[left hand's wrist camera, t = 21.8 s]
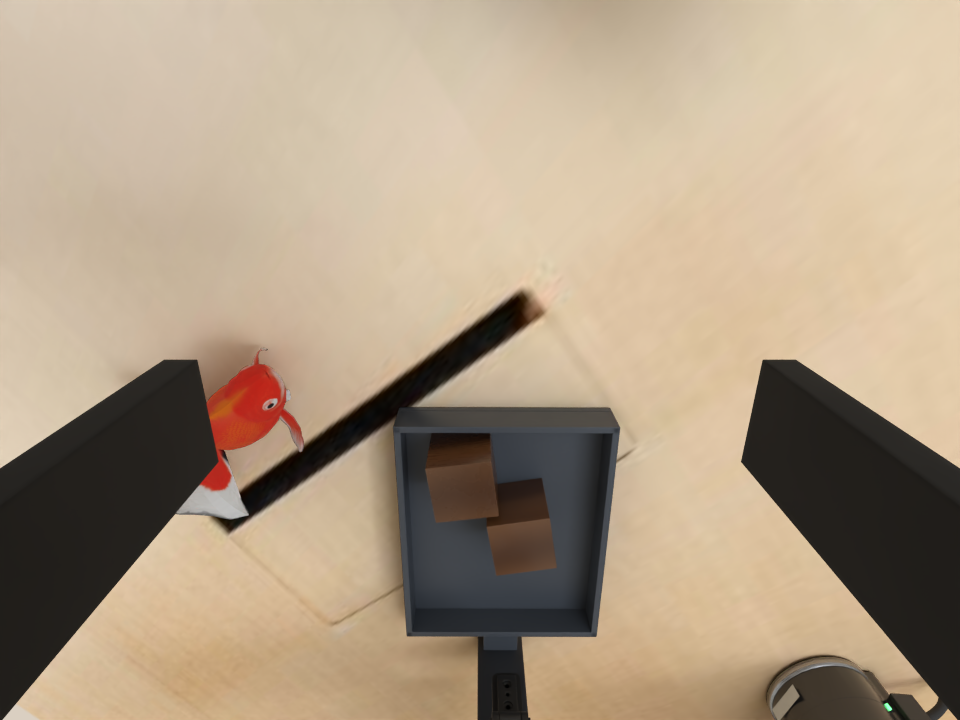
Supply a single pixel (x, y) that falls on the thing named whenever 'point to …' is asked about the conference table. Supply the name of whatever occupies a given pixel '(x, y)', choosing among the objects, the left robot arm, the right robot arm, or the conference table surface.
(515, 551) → the block
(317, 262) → the conference table surface
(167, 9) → the conference table surface
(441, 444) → the block
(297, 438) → the fish
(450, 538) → the tray
